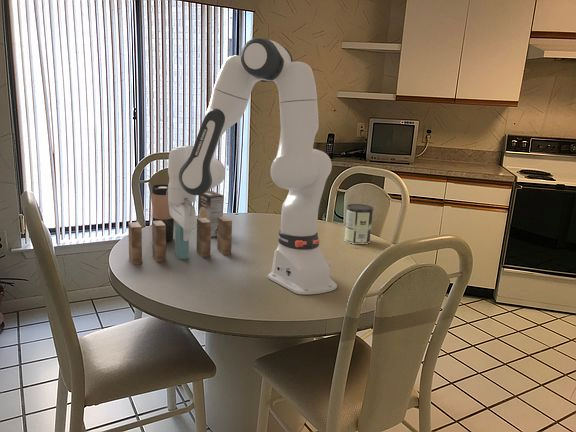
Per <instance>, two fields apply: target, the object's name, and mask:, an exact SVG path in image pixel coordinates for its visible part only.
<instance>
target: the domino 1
mask: <svg viewBox="0 0 576 432" xmlns="http://www.w3.org/2000/svg"><path fill="white" fill-rule="evenodd" d="M151 224H152V225H151V227H152V228H151V229H152V232H151V233H152V237H151V238H152V241H151V242H152V243H151V244H152V258H153V259H154V260H155V262H166V261H167V242H166V225H165V224H164V223H163V222H162V221H153V220H152V222H151Z"/></svg>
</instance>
